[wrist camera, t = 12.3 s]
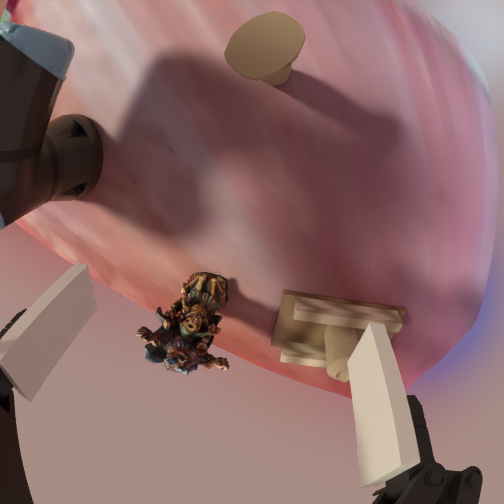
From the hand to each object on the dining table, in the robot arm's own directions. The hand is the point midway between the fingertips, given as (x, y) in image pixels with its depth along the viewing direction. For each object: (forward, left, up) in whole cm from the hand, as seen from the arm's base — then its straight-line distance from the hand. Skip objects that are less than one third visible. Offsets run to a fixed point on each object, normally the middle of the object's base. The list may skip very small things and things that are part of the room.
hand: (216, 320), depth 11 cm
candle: (+16, -23, -26) cm, 38 cm away
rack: (+16, -23, -27) cm, 39 cm away
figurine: (-7, -19, -28) cm, 34 cm away
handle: (-1, +14, -28) cm, 31 cm away
